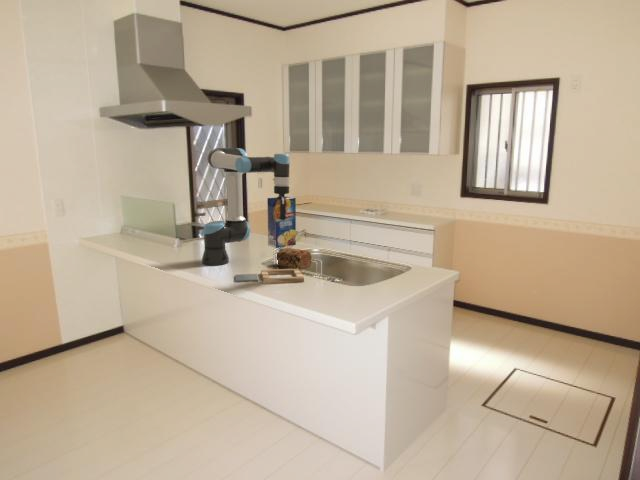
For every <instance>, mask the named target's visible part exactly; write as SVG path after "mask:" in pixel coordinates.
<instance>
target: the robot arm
mask: <svg viewBox="0 0 640 480" xmlns="http://www.w3.org/2000/svg"><path fill="white" fill-rule="evenodd" d="M206 160H207V163H208V164H209V166H210V167H211V168H213V169H217V170H223V173H224V174H226V186H227V187H226V189H227V191H226V192H227V217H226V218H225V220H224V221H223V220H215V221H209V222H206V223H205V225H204V226H203V240H204V241H203V245H204V246H203V247H204V252H203V254H202V258H201V264H202V265H205V266H221V265H222V266H223V265H227V264H229V263H230V261H229V260H230V258H229V255H228V253H227V250H226V244H228V243H237V242H243V241H246V240H248V239H249V236H250V234H251V226H250V223H249V222H248V221H247V219H246V218H245V216H244V205H243V204H244V203H243V202H244V200H243V199H244V197H243V174H248V173H249V174H250V173H251V174H252V173H273V178H272V181H273V182H274V183H273V184H274V185H273V193H274V194H276V195H278V196H277V198H278V199H282V200H280V220H283V221H284V220H285V219H286V218H285V214H286V200H284V199H286V198H285V197H286V195H288V194H290V164H291V163H290V155H289V154H288V153H275V154H274V155H273V156H248V154H247V152H246V150H244V148H240V147H239V148H238V147H216V148H214V149H211V150H210V151H209V153H208V154H207V159H206Z"/></svg>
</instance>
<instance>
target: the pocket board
mask: <svg viewBox="0 0 640 480" xmlns="http://www.w3.org/2000/svg"><path fill="white" fill-rule="evenodd" d="M270 274H271V276H272V274H273V275H289V274H290V275H292V274H293V275H294V276H286V277H282V276H281V277H270ZM260 275H261V279H262V281H263V282H262V283H263V284H265V285H266V284H281V283H282V284H283V283H305V277H304V275H303V274H302V272H301V270H299V269H292V268H282V269H277V268H276V269H275V268H274V269H261V270H260Z"/></svg>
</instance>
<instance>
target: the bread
mask: <svg viewBox="0 0 640 480" xmlns="http://www.w3.org/2000/svg"><path fill="white" fill-rule="evenodd" d="M276 253H277V260H278V264H279V265H278V266H280V267H283V268H284V267H285V268H287V269H299V270H300V271H301V270H305V269H309V268H311V266H312V253H311V252H310V251H308V250H306V249H300V248H290V247H289V248H288V247H287V248H286V247H284V248H281V249H280V248H279V250H278V251H277V252H276Z"/></svg>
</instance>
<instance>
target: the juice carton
mask: <svg viewBox="0 0 640 480" xmlns="http://www.w3.org/2000/svg"><path fill="white" fill-rule="evenodd" d="M277 197H278V196H277ZM277 197H267V244H268V245H267V246H269V247H271V248H275V249H280V248H281V249H282V248H286V247H287V248H288V247H291V246H296V241H297V238H296V237H297V236H296V235H297V227H296V225H297V223H296V222H297V221H296V220H297V218H296V215H297V214H296V212H297V211H296V210H297V208H296V207H297V206H296V205H297V203H296V201H297V198H296V197H291V196H285V198H286V199H284V200H286V214H285V218H286V219H285V220H284V221H283V220H280V200H282V199H278V198H277Z"/></svg>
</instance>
